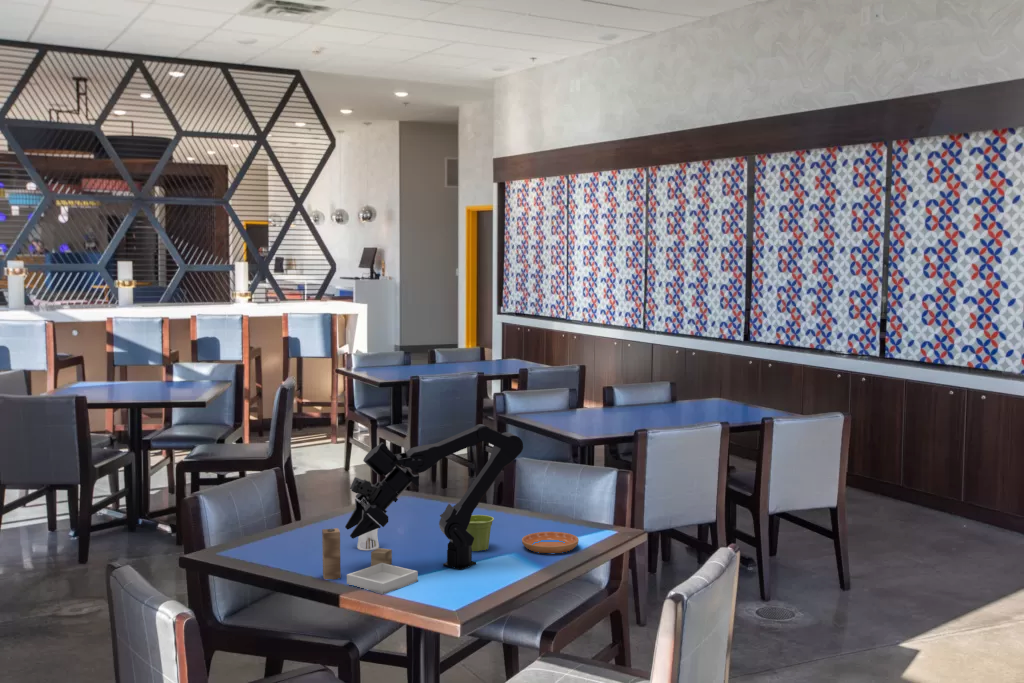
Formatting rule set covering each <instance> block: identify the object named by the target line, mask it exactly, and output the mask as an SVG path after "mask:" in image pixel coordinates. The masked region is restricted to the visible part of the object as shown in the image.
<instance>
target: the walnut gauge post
mask: <svg viewBox="0 0 1024 683" xmlns="http://www.w3.org/2000/svg"><path fill="white" fill-rule="evenodd" d="M321 536H322V538H321V540H322V541H321V543H322V544H321V545H322V549H321V550H322V577H323V579H332V580H339V579H338V578H341V577H342V575H341V574H342V572H341V569H342V568H341V531H340V529H339V527H337V528H335V527H334V528H326V529H325V528H324V529H323V528H322V529H321Z"/></svg>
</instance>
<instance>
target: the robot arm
mask: <svg viewBox="0 0 1024 683" xmlns="http://www.w3.org/2000/svg"><path fill="white" fill-rule="evenodd" d="M482 442H484V443H485V442H486V443H487V444H490V445H492V449H491V452H490V456H489V458H488V461H487V462H486V463H485V464H484V466H483V467H482V469H481V470H480V472H479V473H478V474H477V476H476V478H475V479H474V480H473V482H472V483H471V484H470V486H469V487H468V489H467V490H466V492H465V493H464V494H463V496H462V497H461V498H460V500H459V501H458V502H457V503H456V504H454V505H452V504H451V503H448V504H447V506H446V507H445V510H444V511H443V513H441V514H439V517H440V519H439V521H438V525H439V529H440V531H441V532H442V534H444V536H445V537H446V539H447V540H449V542H448V543H447V550H446V562H444V563H442V564H443V566H444V567H448V568H453V569H457V570H464V569H466V568H470V567H473V566H475V565H477V561H474V560H473V561H472V559H473V558H472V557H473V555H472V554H473V553H472V552H473V551H472V544H473V541H474V537H473V536H472V535H471V534H470V533H469V532H468V531H467V528H468V525H469V523H470V519H471V516H472V515H473V512H474V511H475V510H476V508H477V507H478V505H479V504H480V502H481V501H482V500H483V498H484V496H485V495H486V493H487V492H488V491H489V489H491V487H492V485H493V483H494V482H495V481H496V479H497V478H498V477H499V475H500V473H501V472H502V471H503V469H504V468H506V467H508V465H510V464H511V463H513V462H514V461H515V460H516V459H517V457H519V456H520V455H521V454H522V452H523V449H524V443H523V440H522V439H521V438H520V437H519V436H517V435H516V434H514V433H512V432H509V431H507V432H500V431H497V430H495V429H492V428H490V427H488V426H486V425H484V424H482V423H479V424H476V425H475V426H474V427H473V426H472V427H470V428H469V429H466V430H464V431H462V432H459V433H457V434H454V435H452V436H450V437H448V438H445V439H442V440H441V441H439V442H436V443H431V444H423V445H418V446H414V447H411V448H409V449H408V450H407V451H405V452H402V453H395V454H394V453H393V452H392V451H391V450H390V449H389V447H388V446H387V445H386V444H385V443H384V442H380V444H378V445H377V446H375V447H373V449H370V450H369V452H367V453H366V454H365V456H364V458H363V462H364V463H365V464H366V465H367V466H368V467H369V468H370V469H371V470H373V471H374V473H375V474H377V475H378V476H382V475H383V476H386V477H385V478H383V479H382V481H376V483H375V484H373V483H372V482H371V481H369V480H366V479H361V478H359V477H354V478H353V481H352V483H351V485H350V487H349V489H350V490H351V492H352V493H355V494H356V495H355V498H354V505H355V506H354V507H355V508H354V510H353V512H352V513H351V515H350V517H349V519H348V521H347V522H346V525H345V529H346V530H351V529H352V528H353V530H352V532H351V533H350V534H349V537H350V538H351V539H356V538H359V536H360V535H363V534H365V533H367V532H370V531H372V530H375V529H377V528H378V529H381V527H383V528H384V527H385V526H386V525H387V524H388V523H389V516H388V514H387V512H388V510H387V509H388V508H389V507H390V506H391V505H392V503H393V502H394V503H397V502H398V500H399V499H398V497H399V496H400V495H401V494H402V493H403V492H404V491H405V490H406V489H407V487H409V486H410V484H411V483H412V484H413V485H415V487H417V488H418V487H419V486H420V484H419V483H420V482H419V480H420V476H419V475H418V474H419V473H420V474H421V473H424V472H425V471H427V470H429V469H431V468H432V467H434V466H435V465H436V464H437V463H438V462H439V461H441V460H442V459H443V458H444V459H445V458H446V457H448V456H451V455H453V454H455V453H458V452H460V451H463V450H465V449H467V448H469V447H472V446H475V445H476V444H479V443H482ZM397 463H399V465H400V466H401V467H403V468H402V469H401V467H399V466H398V464H397ZM409 469H410V470H411V471H410V470H409ZM412 471H413V472H415V473H418V474H413V473H412ZM356 498H357V499H358V501H357V500H356Z"/></svg>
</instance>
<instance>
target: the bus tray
mask: <svg viewBox="0 0 1024 683" xmlns="http://www.w3.org/2000/svg"><path fill="white" fill-rule="evenodd" d="M418 573H419V571H418V570H414V569H410V568H406V567H402V566H398V565H397V566H396V565H392V564H391V565H389V564H385V563H380V564H377V565H374V566H371V565H370V566H369V567H365V568H362V569H359V570H356V571H353V572H350V573H347V574H346V585H347V584H349V585H354V586H357V587H360V588H359V589H361V588H364V589H363V590H365V589H368V590H371V591H370V592H372V591H374V592H373V593H376V592H377V594H380V595H385V594H388V593H391V592H392V591H396V590H398V589H401V588H404V587H406V586H409V585H412V584H415V583H416V581H417V582H418V581H419V580H418V579H419V578H418V577H419V575H418ZM414 582H415V583H414ZM349 585H348V586H349ZM357 587H356V588H357ZM368 590H367V591H368Z"/></svg>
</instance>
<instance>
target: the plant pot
mask: <svg viewBox="0 0 1024 683" xmlns="http://www.w3.org/2000/svg"><path fill="white" fill-rule="evenodd" d="M494 519H495V518H494V517H493V516H490V515H488V514H487V515H486V514H485V515H484V514H472V516H471V519H470V523H469V525H468V528H467V531H468V532H469V533H470V534H471V535H472V536H473V537H474V541H473V544H472V552H474V551H477V552H479V551H482V550H485V551H487V550H489V546H490V536H491V529H492V525H493V522H494ZM486 549H487V550H486Z"/></svg>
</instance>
